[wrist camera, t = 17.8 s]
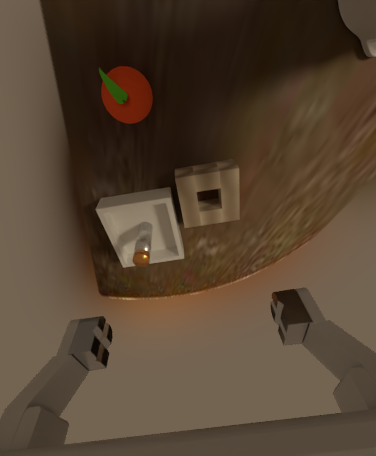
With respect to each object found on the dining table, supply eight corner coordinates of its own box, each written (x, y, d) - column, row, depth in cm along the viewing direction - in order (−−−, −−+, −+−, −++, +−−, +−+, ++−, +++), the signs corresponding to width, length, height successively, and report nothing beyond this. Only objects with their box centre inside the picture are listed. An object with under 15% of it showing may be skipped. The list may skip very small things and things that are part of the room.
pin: (150, 220, 48) (147, 253, 40) (154, 231, 50) (151, 265, 42) (136, 222, 48) (130, 256, 40) (140, 233, 50) (135, 267, 42)
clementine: (91, 84, 34) (75, 91, 28) (121, 44, 31) (111, 43, 25) (133, 127, 38) (127, 140, 32) (163, 94, 35) (162, 103, 29)
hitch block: (233, 159, 42) (238, 167, 39) (235, 208, 49) (239, 219, 46) (174, 168, 42) (174, 178, 39) (183, 216, 49) (184, 228, 46)
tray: (170, 186, 45) (170, 197, 42) (183, 246, 55) (184, 258, 51) (100, 198, 45) (95, 209, 42) (126, 255, 55) (123, 267, 52)
